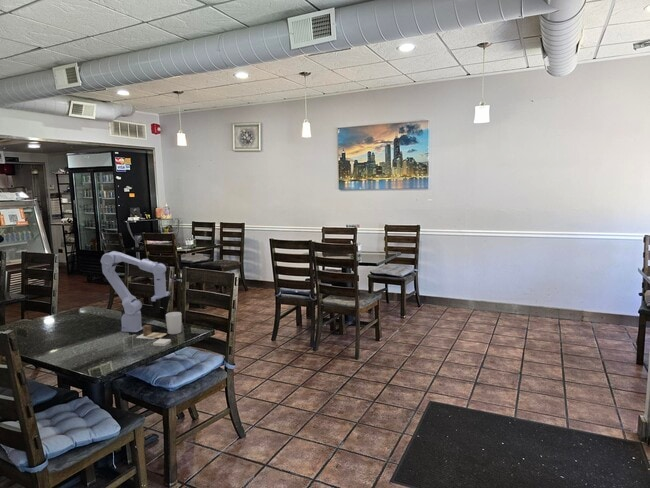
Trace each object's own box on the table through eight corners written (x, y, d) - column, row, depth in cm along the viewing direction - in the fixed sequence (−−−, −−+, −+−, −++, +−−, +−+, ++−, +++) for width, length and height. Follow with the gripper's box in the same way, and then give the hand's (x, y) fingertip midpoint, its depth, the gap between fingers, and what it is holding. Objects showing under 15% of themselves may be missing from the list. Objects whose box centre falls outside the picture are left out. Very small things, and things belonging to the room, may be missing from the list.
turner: (141, 337, 217) (140, 327, 217) (148, 333, 223) (147, 324, 223) (160, 338, 215) (159, 328, 215) (166, 334, 221) (166, 325, 221)
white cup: (169, 335, 220) (168, 316, 219) (164, 332, 227) (163, 313, 225) (184, 332, 225) (183, 314, 224) (179, 329, 231) (178, 311, 230)
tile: (152, 342, 206) (164, 343, 205) (159, 338, 212) (170, 339, 211) (153, 346, 206) (164, 346, 205) (159, 342, 212) (171, 342, 211)
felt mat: (135, 338, 217) (135, 337, 217) (145, 333, 225) (145, 332, 225) (153, 339, 215) (153, 338, 215) (162, 334, 223) (162, 333, 223)
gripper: (159, 289, 221) (160, 315, 223) (174, 283, 235) (175, 308, 237) (146, 289, 222) (148, 314, 224) (162, 283, 237) (163, 307, 238)
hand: (161, 311), depth 230 cm, fingers open, 7 cm apart
